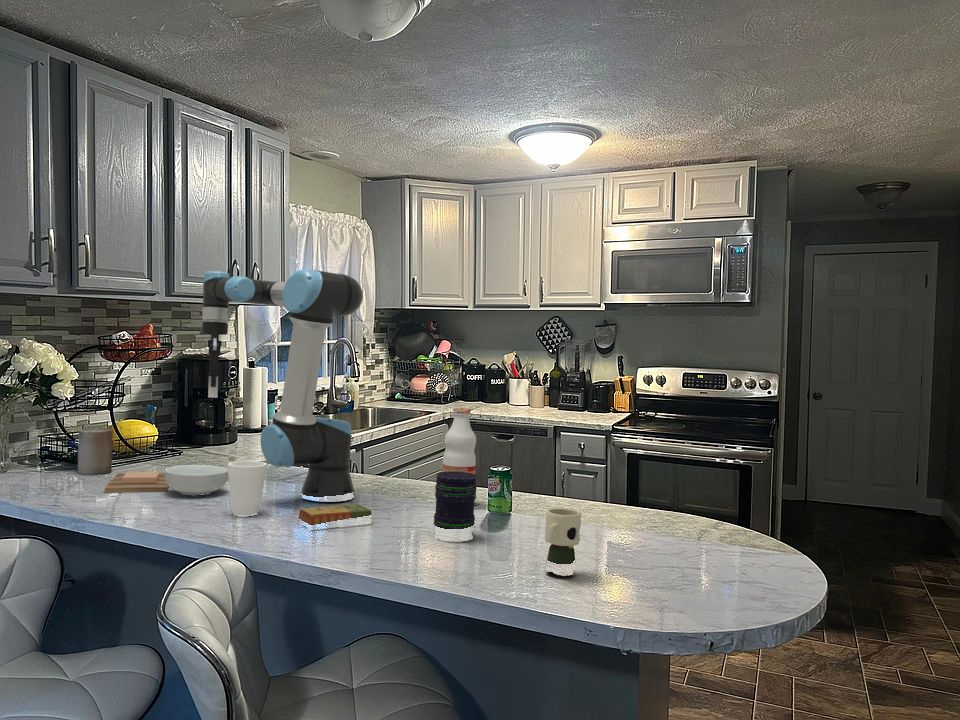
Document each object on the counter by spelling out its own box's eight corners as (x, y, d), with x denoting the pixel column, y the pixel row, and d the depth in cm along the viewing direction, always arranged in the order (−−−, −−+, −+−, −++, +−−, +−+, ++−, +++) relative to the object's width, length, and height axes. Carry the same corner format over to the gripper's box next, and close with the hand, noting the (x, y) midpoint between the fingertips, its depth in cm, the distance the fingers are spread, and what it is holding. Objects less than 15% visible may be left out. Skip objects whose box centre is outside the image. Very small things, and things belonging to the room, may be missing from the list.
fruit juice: (436, 502, 208) (441, 407, 208) (467, 502, 211) (472, 407, 211) (446, 510, 199) (451, 410, 199) (478, 509, 203) (483, 410, 202)
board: (166, 491, 205) (167, 487, 204) (104, 492, 199) (104, 488, 199) (173, 476, 227) (174, 472, 227) (118, 476, 222) (118, 472, 222)
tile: (159, 477, 218) (155, 483, 209) (126, 478, 215) (121, 483, 206) (159, 471, 218) (156, 477, 209) (126, 472, 215) (122, 477, 206)
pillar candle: (114, 469, 233) (116, 423, 233) (107, 475, 224) (109, 427, 223) (81, 470, 230) (83, 423, 230) (73, 475, 221) (74, 427, 221)
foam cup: (224, 519, 177) (226, 466, 177) (226, 510, 186) (229, 460, 186) (263, 518, 180) (266, 467, 180) (264, 510, 189) (267, 461, 188)
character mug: (564, 585, 140) (568, 519, 140) (532, 577, 144) (536, 513, 144) (587, 572, 149) (590, 510, 149) (556, 565, 153) (559, 504, 153)
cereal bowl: (199, 502, 194) (200, 476, 193) (150, 495, 199) (151, 470, 199) (239, 491, 210) (240, 467, 210) (193, 485, 215) (194, 462, 215)
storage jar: (481, 536, 173) (484, 475, 173) (460, 545, 165) (463, 480, 164) (447, 529, 178) (450, 469, 178) (424, 537, 170) (427, 474, 169)
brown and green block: (298, 524, 177) (298, 507, 177) (357, 519, 186) (358, 502, 186) (310, 532, 170) (311, 514, 170) (371, 526, 179) (372, 509, 179)
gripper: (228, 321, 218) (226, 398, 218) (227, 323, 230) (225, 396, 230) (202, 320, 215) (199, 398, 215) (202, 321, 227) (199, 396, 227)
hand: (212, 397), depth 222 cm, fingers closed
